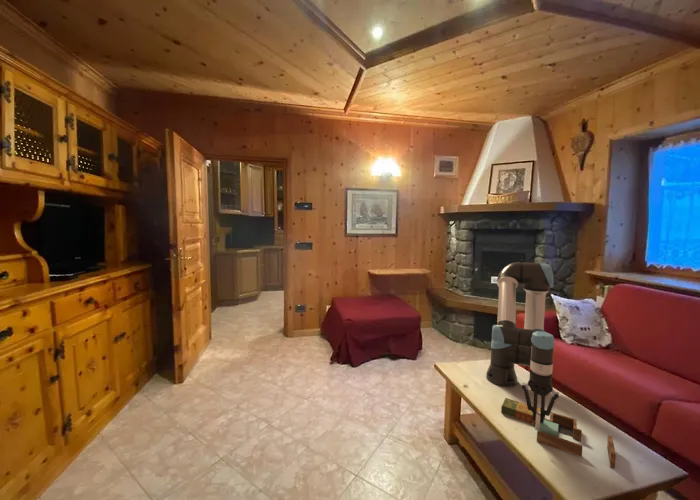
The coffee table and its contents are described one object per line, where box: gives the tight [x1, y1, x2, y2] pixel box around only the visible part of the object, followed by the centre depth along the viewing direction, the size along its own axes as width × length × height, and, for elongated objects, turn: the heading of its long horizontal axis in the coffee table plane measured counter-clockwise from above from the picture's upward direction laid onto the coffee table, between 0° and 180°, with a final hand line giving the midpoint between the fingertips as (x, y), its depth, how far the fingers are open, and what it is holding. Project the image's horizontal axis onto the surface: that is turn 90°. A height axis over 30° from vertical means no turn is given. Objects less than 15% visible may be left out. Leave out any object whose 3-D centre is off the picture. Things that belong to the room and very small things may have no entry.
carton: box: [500, 397, 546, 425], centre depth 136 cm, size 8×16×4 cm, turn 53°
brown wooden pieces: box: [536, 411, 617, 470], centre depth 120 cm, size 19×23×5 cm
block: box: [539, 420, 559, 437], centre depth 122 cm, size 6×6×5 cm
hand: (537, 428), depth 124 cm, fingers closed
